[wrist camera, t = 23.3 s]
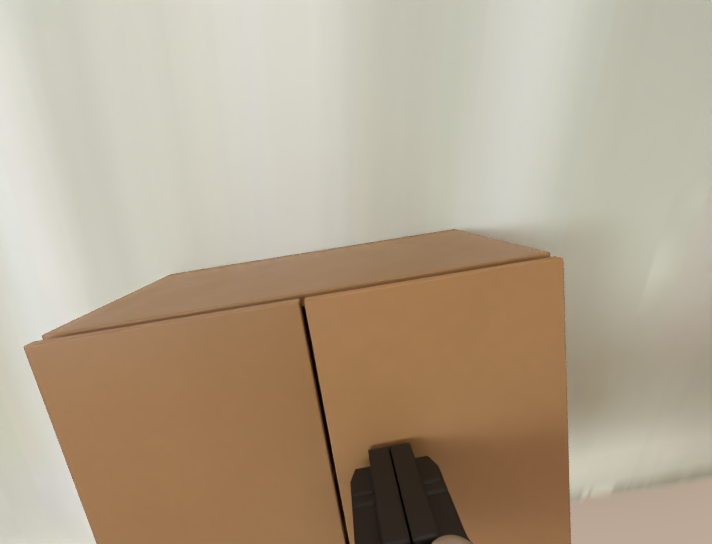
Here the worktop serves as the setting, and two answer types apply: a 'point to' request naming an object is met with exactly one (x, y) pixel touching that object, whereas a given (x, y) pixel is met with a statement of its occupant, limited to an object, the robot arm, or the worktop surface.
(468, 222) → the worktop surface
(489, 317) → the cardboard box flap
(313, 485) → the open shipping carton
